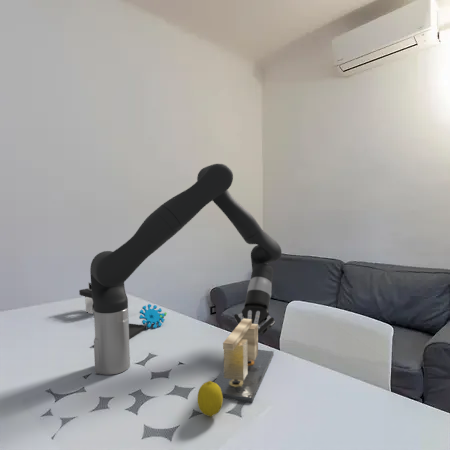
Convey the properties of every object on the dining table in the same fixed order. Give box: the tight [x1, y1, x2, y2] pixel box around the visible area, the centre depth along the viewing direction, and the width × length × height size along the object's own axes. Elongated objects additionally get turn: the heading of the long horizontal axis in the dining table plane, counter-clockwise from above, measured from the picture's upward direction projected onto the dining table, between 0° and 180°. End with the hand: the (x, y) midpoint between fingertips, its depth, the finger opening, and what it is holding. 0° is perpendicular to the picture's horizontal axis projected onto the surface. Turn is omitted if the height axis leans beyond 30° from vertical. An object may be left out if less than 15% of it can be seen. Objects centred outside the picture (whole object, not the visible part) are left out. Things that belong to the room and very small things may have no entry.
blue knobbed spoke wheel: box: [138, 303, 168, 329], centre depth 140 cm, size 11×6×10 cm
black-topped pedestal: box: [79, 281, 94, 314], centre depth 155 cm, size 28×26×13 cm
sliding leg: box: [222, 317, 259, 360], centre depth 96 cm, size 20×5×12 cm, turn 162°
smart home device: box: [129, 323, 147, 341], centre depth 128 cm, size 8×2×20 cm
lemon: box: [197, 380, 224, 418], centre depth 80 cm, size 6×6×8 cm
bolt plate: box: [213, 339, 274, 404], centre depth 100 cm, size 27×11×12 cm, turn 162°
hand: (249, 347), depth 106 cm, fingers closed
